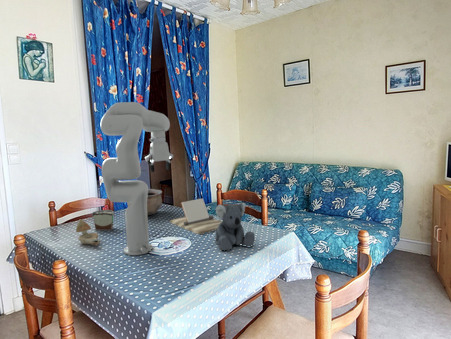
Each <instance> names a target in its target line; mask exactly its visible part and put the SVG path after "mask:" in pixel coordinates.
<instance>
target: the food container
mask: <svg viewBox="0 0 451 339" xmlns="http://www.w3.org/2000/svg"><path fill="white" fill-rule="evenodd" d="M91 216H92V219H93V224H94V230H95V231H113V228H114V216H115V211H114V210H112V209H102V210H101V209H100V210H96V211H92V213H91Z"/></svg>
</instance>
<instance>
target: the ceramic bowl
mask: <svg viewBox="0 0 451 339" xmlns="http://www.w3.org/2000/svg"><path fill="white" fill-rule="evenodd" d="M162 193H163V191H162V190H161V189H154V188H148V197H147V216H150V215H154V214H156V213H157V212H158V211H159V210H160V208H161V207H162V204H163V199H162ZM126 203H127V207H128V206H129V205H130V203H129V202H126Z"/></svg>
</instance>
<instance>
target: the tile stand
mask: <svg viewBox="0 0 451 339" xmlns="http://www.w3.org/2000/svg"><path fill="white" fill-rule="evenodd" d="M209 218H210V219H208V220H204V221H200V222H196V223H192V224H188V222H187V220H186V217H185V216H182V217H177V218H175V219H170V220H169V221H170V224H172V225H175V226H177V227H180V228H183V229H185V230H187V231H189V232H191V231H192V232H191V233H194V234H196V233H197V234H196V235H198V234H200V235H203V234H202V233H204V234H206V233H205V232H208V233H210V232H209V231H211V232H213V231H212V230H215V229H218V226H219V224H220V223H221V222H223V220H222V221H221V220H220V219H215V218H214V216H213V215H209ZM215 231H216V230H215Z"/></svg>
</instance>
